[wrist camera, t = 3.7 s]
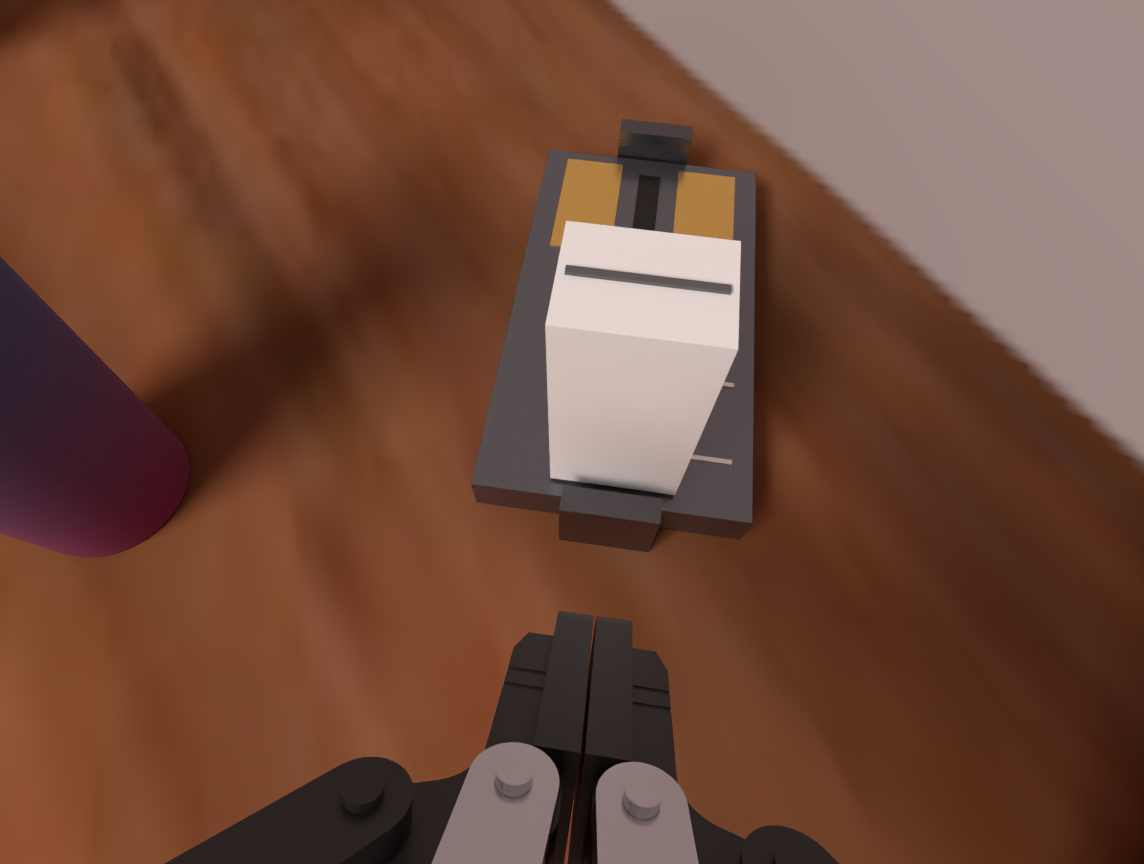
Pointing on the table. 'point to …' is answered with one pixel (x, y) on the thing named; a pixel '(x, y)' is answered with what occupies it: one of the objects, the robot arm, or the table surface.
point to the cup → (76, 439)
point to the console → (519, 400)
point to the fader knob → (637, 351)
